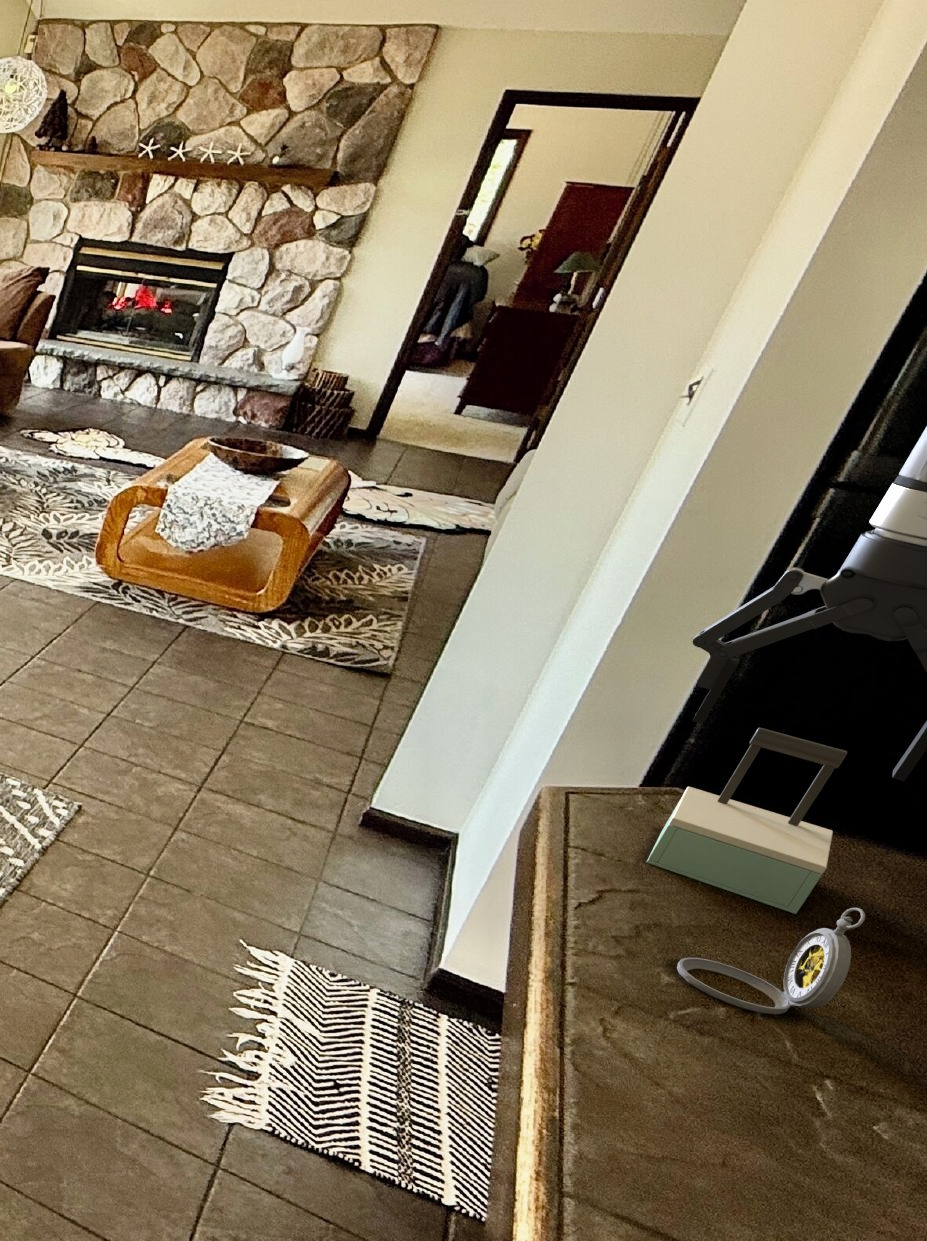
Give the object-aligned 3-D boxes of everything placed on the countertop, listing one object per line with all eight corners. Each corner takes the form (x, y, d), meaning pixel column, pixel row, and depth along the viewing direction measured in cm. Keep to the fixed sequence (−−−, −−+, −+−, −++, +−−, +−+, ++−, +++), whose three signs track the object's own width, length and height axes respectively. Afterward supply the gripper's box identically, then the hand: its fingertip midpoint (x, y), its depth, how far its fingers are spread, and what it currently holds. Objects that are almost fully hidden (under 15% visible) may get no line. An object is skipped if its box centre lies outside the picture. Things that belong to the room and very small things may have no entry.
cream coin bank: (684, 792, 122) (729, 714, 118) (829, 837, 115) (882, 756, 111) (668, 824, 115) (716, 742, 111) (822, 874, 108) (879, 788, 104)
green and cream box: (660, 833, 124) (682, 795, 122) (801, 880, 116) (828, 840, 114) (644, 865, 117) (668, 825, 115) (794, 917, 110) (821, 875, 108)
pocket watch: (651, 963, 100) (712, 865, 96) (748, 972, 100) (813, 874, 96) (747, 1028, 93) (817, 924, 89) (852, 1037, 93) (927, 933, 89)
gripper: (729, 507, 112) (619, 706, 120) (1158, 589, 95) (993, 813, 103) (737, 499, 116) (630, 691, 125) (1147, 575, 99) (990, 791, 108)
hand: (794, 747), depth 114 cm, fingers open, 13 cm apart
